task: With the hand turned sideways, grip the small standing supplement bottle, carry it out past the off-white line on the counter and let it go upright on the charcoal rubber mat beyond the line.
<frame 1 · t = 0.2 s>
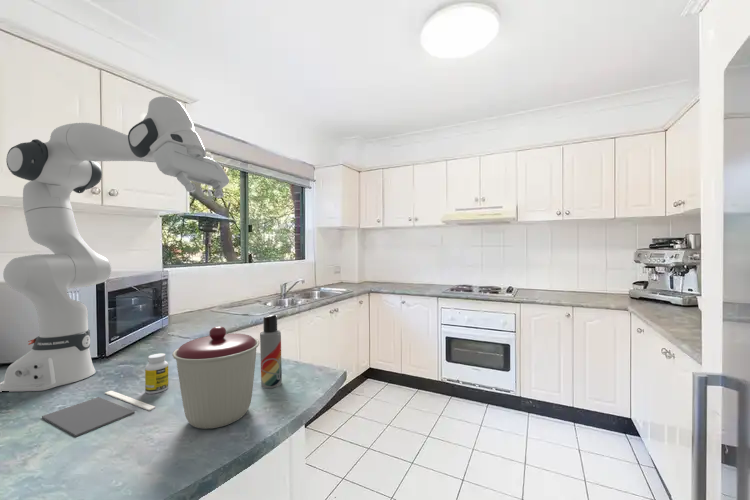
hand: (206, 194, 85), 54 cm above the countertop, tool tilted 30°, fingers open, 8 cm apart
throw line: (128, 400, 84), on the countertop
lotion bottle: (271, 385, 93), on the countertop
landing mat: (88, 415, 77), on the countertop
supplement bottle: (157, 390, 91), on the countertop
canister: (219, 417, 75), on the countertop
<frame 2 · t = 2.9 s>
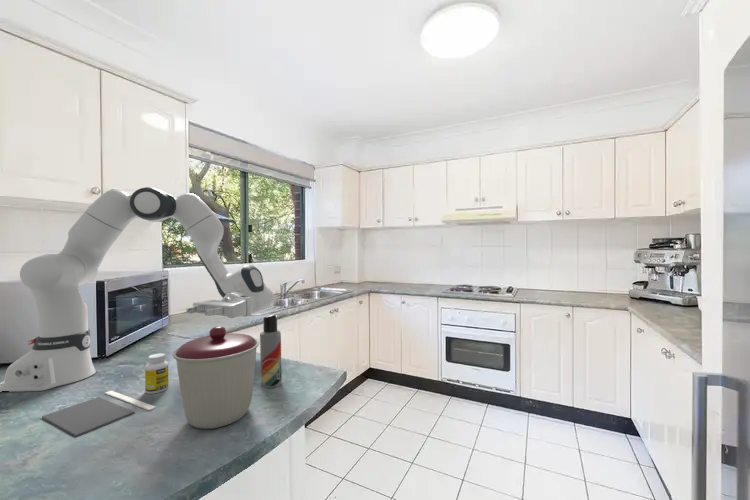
hand: (196, 312, 101), 20 cm above the countertop, tool horizontal, fingers open, 8 cm apart
nothing on the countertop moved.
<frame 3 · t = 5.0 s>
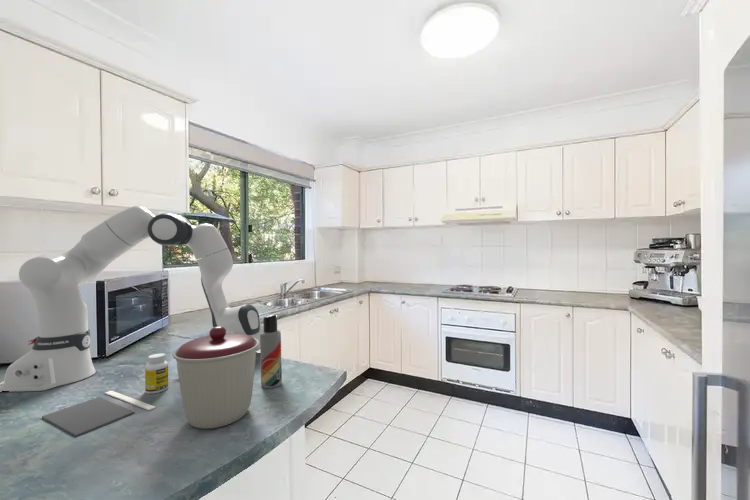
hand: (188, 360, 99), 5 cm above the countertop, tool horizontal, fingers open, 8 cm apart
nothing on the countertop moved.
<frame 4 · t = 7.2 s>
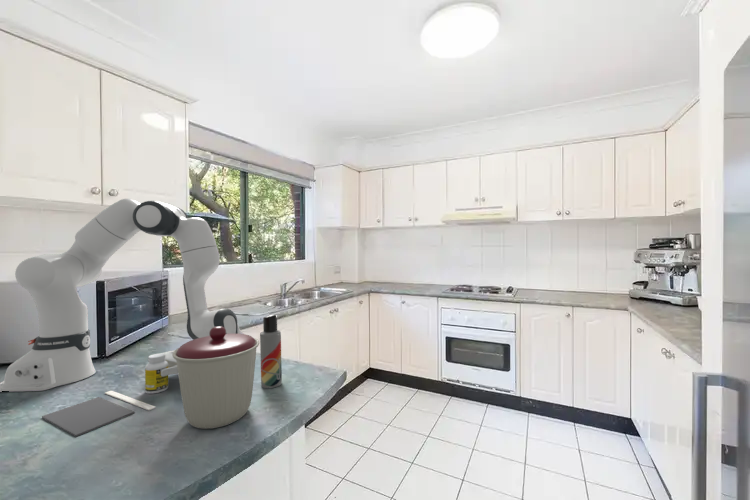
hand: (153, 371, 90), 6 cm above the countertop, tool horizontal, fingers closed on supplement bottle, 5 cm apart
supplement bottle: (157, 390, 91), on the countertop, touching gripper
everything else where it was.
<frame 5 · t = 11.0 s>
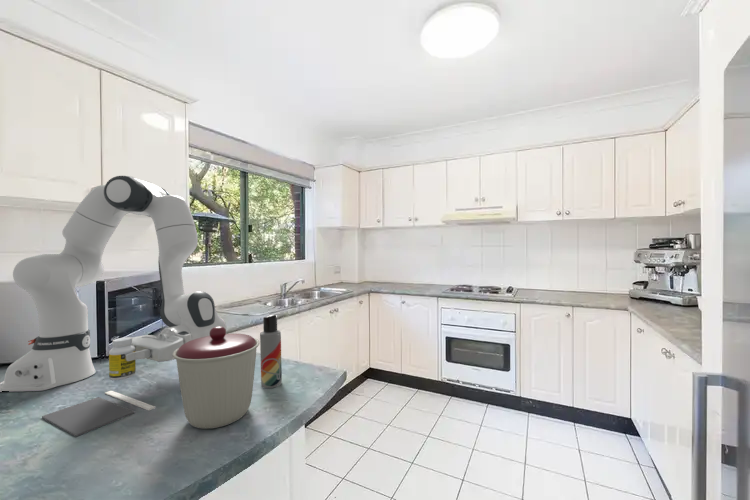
hand: (118, 356, 83), 12 cm above the countertop, tool horizontal, fingers closed on supplement bottle, 5 cm apart
supplement bottle: (122, 377, 83), point 6 cm above the countertop, touching gripper
everything else where it was.
when the fingers open (7 cm above the countertop, at t = 14.6 s): supplement bottle drops 1 cm, resting on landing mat.
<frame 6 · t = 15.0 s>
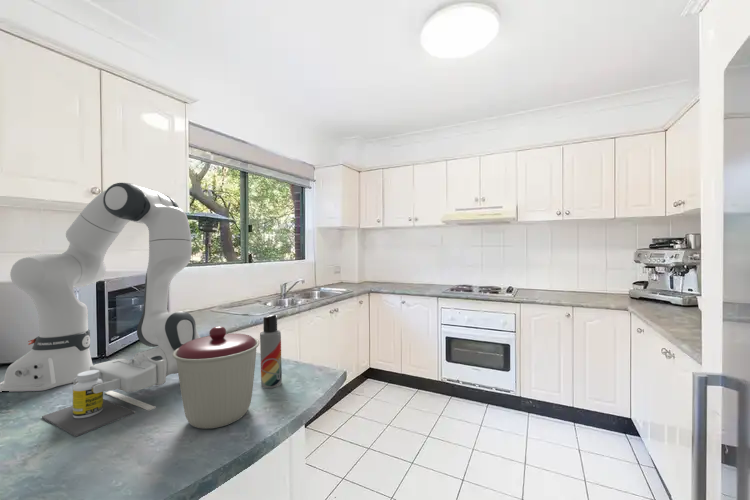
hand: (83, 386, 76), 7 cm above the countertop, tool horizontal, fingers open, 8 cm apart
supplement bottle: (88, 414, 77), resting on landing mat
everything else where it was.
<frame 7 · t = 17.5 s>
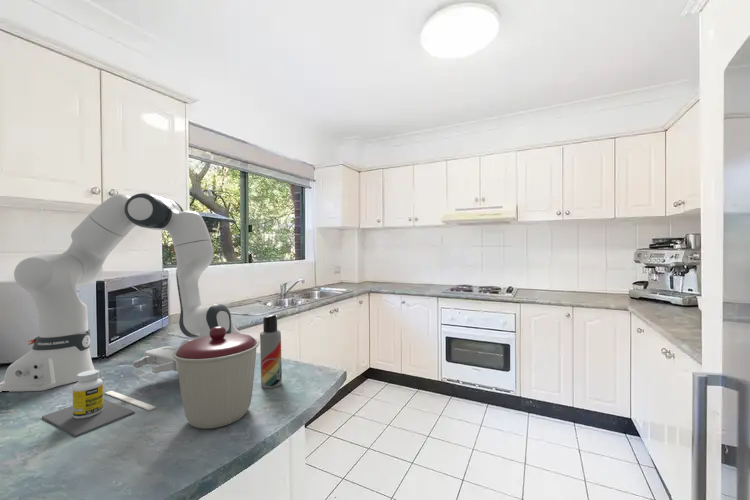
hand: (143, 367, 88), 7 cm above the countertop, tool horizontal, fingers open, 8 cm apart
nothing on the countertop moved.
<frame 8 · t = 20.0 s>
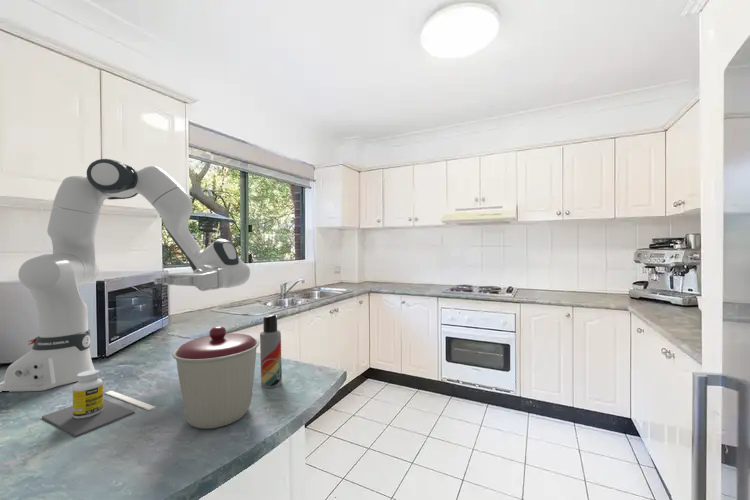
hand: (164, 281, 97), 30 cm above the countertop, tool horizontal, fingers open, 8 cm apart
nothing on the countertop moved.
at the end: supplement bottle 0.0 cm from the target spot, resting on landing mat; supplement bottle tilted 0°; the gripper is holding nothing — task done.
